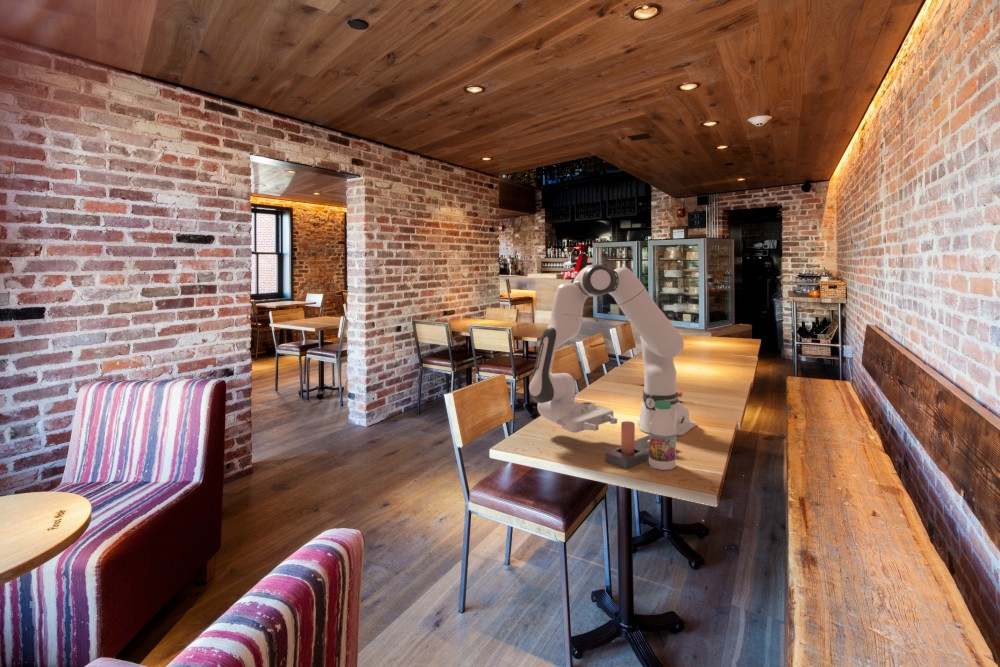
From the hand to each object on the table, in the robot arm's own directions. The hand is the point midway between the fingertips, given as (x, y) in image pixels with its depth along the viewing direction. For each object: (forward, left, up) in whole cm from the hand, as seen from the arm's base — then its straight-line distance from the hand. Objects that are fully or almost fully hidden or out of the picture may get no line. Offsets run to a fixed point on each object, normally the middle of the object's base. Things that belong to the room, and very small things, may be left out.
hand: (606, 424), depth 159 cm
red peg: (0, +8, -10) cm, 13 cm away
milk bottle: (-4, +18, -10) cm, 21 cm away
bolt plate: (-7, +8, -9) cm, 14 cm away
